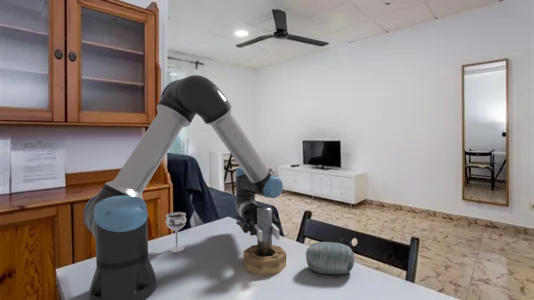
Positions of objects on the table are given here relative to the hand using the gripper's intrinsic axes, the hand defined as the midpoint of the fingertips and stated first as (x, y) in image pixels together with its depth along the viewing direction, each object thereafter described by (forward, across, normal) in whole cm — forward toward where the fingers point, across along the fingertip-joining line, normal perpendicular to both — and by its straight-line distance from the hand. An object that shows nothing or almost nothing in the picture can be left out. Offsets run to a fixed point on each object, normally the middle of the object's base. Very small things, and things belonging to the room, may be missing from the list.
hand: (269, 235), depth 80 cm
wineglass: (-25, +26, -11) cm, 38 cm away
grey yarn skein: (+4, -17, -11) cm, 21 cm away
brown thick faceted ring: (-5, 0, -11) cm, 12 cm away
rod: (-5, 0, -10) cm, 11 cm away
